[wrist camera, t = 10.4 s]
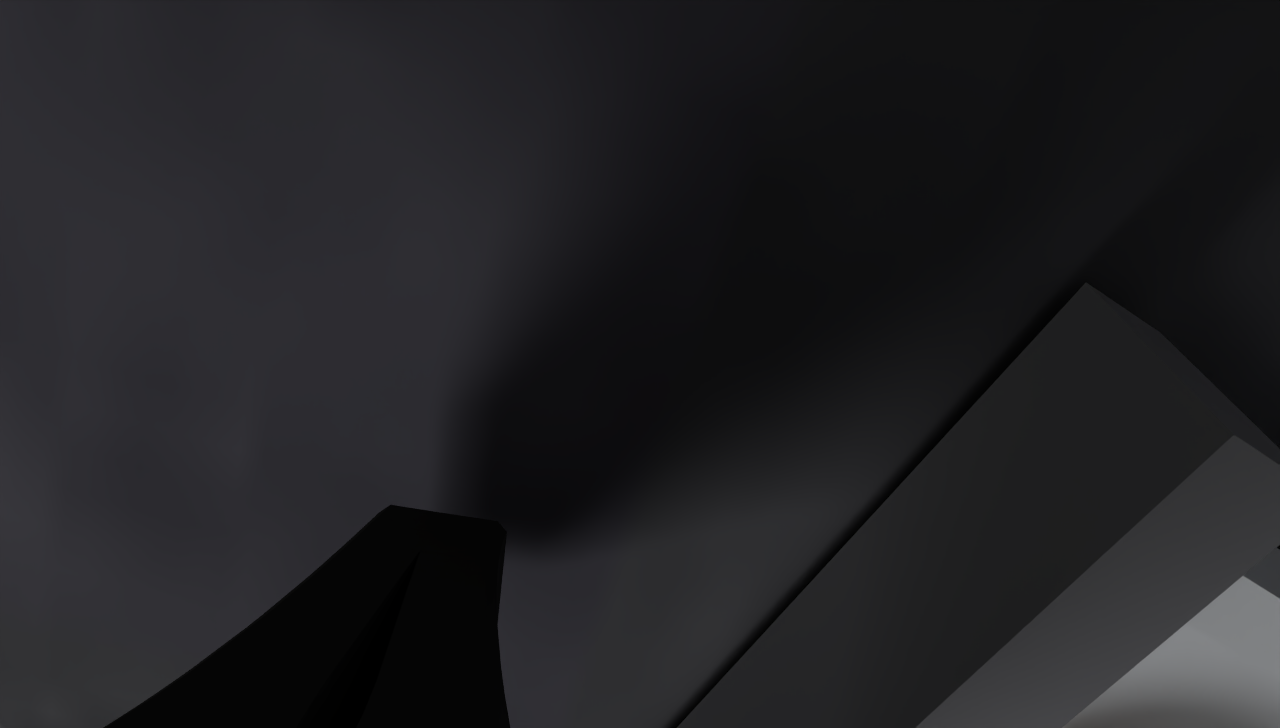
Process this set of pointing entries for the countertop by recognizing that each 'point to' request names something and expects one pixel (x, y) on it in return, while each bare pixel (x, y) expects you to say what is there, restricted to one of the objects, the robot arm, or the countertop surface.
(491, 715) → the robot arm
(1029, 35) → the countertop surface
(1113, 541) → the tray
